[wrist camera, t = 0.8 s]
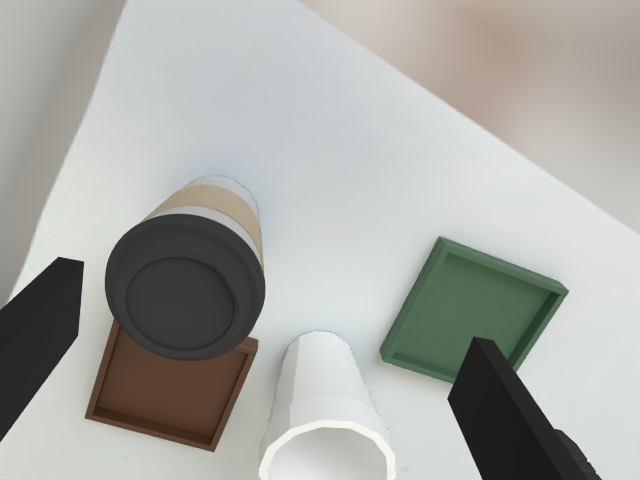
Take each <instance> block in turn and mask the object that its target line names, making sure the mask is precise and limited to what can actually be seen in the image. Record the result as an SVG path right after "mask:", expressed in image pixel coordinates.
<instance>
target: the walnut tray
mask: <svg viewBox="0 0 640 480" xmlns="http://www.w3.org/2000/svg"><path fill="white" fill-rule="evenodd" d="M257 348H258V340H256V339H252V338H249V337H246V339H245V340H244V341H243V342H242V343H241V344H240V345H238V346H237V347H236V348H234V349H233V350H231V351H230V352H228V353H226V354H224V355H222V356H219V357H216V358H213V359H209V360H204V361H179V360H173V359H169V358H165V357H162V356H159V355H157V354H155V353H152V352H150V351H148V350H147V349H145V348H143V347H142V346H140V345H139V344H137V343H136V342H135V341H134V340H132V339H131V338H130V337H129V336H128V335H127V334H126V333H125V332H124V331H123V329H122V328H121V327H120V326H119V324H118V323H117V321H116V320H115V318H114V321H113V325H112V328H111V331H110V335H109V338H108V341H107V345H106V348H105V351H104V355H103V358H102V361H101V365H100V368H99V371H98V375H97V378H96V381H95V385H94V388H93V391H92V395H91V398H90V401H89V405H88V408H87V411H86V415H85V418H86V419H90V420H93V421H97V422H101V423H105V424H109V425H112V426H116V427H120V428H124V429H128V430H131V431H135V432H139V433H143V434H147V435H150V436H154V437H158V438H162V439H166V440H169V441H173V442H177V443H181V444H185V445H188V446H192V447H196V448H200V449H204V450H207V451H211V452H214V451H215V449H216V447H217V444H218V442H219V440H220V437H221V435H222V433H223V430H224V428H225V426H226V423H227V421H228V419H229V416H230V414H231V411H232V409H233V407H234V404H235V402H236V400H237V397H238V395H239V393H240V390H241V388H242V386H243V383H244V381H245V379H246V376H247V374H248V372H249V369H250V367H251V365H252V362H253V360H254V358H255V355H256V353H257Z"/></svg>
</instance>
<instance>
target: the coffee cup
mask: <svg viewBox="0 0 640 480" xmlns="http://www.w3.org/2000/svg"><path fill="white" fill-rule="evenodd" d="M105 292H106V298H107V302H108V305H109V308H110V310H111V312H112V314H113V316H114V318H115V320H116V321H117V323H118V324H119V326H120V327H121V328H122V329H123V331H124V332H125V333H126V334H127V335H128V336H129V337H130V338H131V339H132V340H134V341H135V342H136V343H137V344H139V345H140V346H142V347H143V348H145V349H147V350H148V351H150V352H152V353H155V354H157V355H159V356H162V357H165V358H169V359H173V360H179V361H204V360H209V359H213V358H216V357H219V356H222V355H224V354H226V353H228V352H230V351H231V350H233V349H234V348H236V347H237V346H238V345H240V344H241V343H242V342H243V341H244V340H245V339H246V337H247V336H248V335H249V334H250V332H251V331H252V329H253V327H254V325H255V323H256V321H257V319H258V317H259V315H260V313H261V310H262V307H263V304H264V299H265V279H264V265H263V252H262V239H261V230H260V225H259V213H258V208H257V205H256V203H255V200H254V199H253V197H252V195H251V194H250V193H249V192H248V190H247V189H246V188H245V187H243V186H242V185H241V184H240V183H238V182H236V181H234V180H232V179H230V178H227V177H223V176H216V175H211V176H204V177H200V178H198V179H196V180H194V181H192V182H190V183H189V184H188V185H187V186H185V187H184V188H183V189H182V190H180V191H178V192H176V193H175V194H173V195H172V196H171V197H170V198H169V199H167V200H166V201H165V202H164V203H163V204H161V205H160V206H159V207H158V208H157V209H156V210H154V211H153V212H152V213H151V214H150V215H149V216H147V217H146V218H145V219H144V220H143V221H142V222H141V223H140V224H138V225H136V226H135V227H133V228H132V229H130V230H129V231H128V232H127V233H126V234H124V235H123V236H122V238H121V239H120V240H119V241H118V242H117V244H116V245H115V247H114V248H113V250H112V252H111V254H110V257H109V259H108V263H107V267H106V274H105Z"/></svg>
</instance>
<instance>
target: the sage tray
mask: <svg viewBox="0 0 640 480" xmlns="http://www.w3.org/2000/svg"><path fill="white" fill-rule="evenodd" d="M568 292H569V290H568V289H567V288H565V287H564V286H563V285H562V284H561V283H560V282H558V281H555V280H552V279H550V278H547V277H545V276H542V275H539V274H537V273H534V272H532V271H529V270H526V269H524V268H521V267H518V266H516V265H513V264H511V263H508V262H505V261H503V260H500V259H498V258H495V257H492V256H490V255H487V254H485V253H482V252H479V251H477V250H474V249H471V248H469V247H466V246H464V245H461V244H458V243H456V242H453V241H451V240H448V239H445V238H443V237H439V239H438V241H437V243H436V245H435V247H434V249H433V250H432V252H431V254H430V256H429V258H428V260H427V262H426V264H425V266H424V267H423V269H422V271H421V273H420V275H419V277H418V279H417V281H416V283H415V285H414V286H413V288H412V290H411V292H410V294H409V296H408V298H407V300H406V302H405V303H404V305H403V307H402V309H401V311H400V313H399V315H398V317H397V319H396V320H395V322H394V324H393V326H392V328H391V330H390V332H389V334H388V336H387V337H386V339H385V341H384V343H383V345H382V347H381V349H380V353H381V357H382V361H383V362H386V363H390V364H393V365H396V366H399V367H402V368H405V369H408V370H411V371H414V372H418V373H421V374H424V375H427V376H430V377H433V378H436V379H439V380H443V381H446V382H449V383H452V384H454V382H455V379H456V377H457V375H458V372H459V370H460V367H461V365H462V363H463V360H464V358H465V355H466V353H467V351H468V348H469V346H470V343H471V341H472V339H473V336H474V337H480V338H485V339H490V340H494V341H495V343H496V344H497V346H498V347H499V349H500V350H501V352H502V353H503V355H504V356H505V358H506V359H507V361H508V362H509V363H510V365H511V366H512V368H513V369H514V371H515V372H517V370H518V369H519V367H520V366H521V364H522V363H523V361H524V360H525V358H526V356H527V355H528V353H529V352H530V350H531V349H532V347H533V346H534V344H535V343H536V341H537V340H538V338H539V337H540V335H541V334H542V332H543V331H544V329H545V327H546V326H547V324H548V323H549V321H550V320H551V318H552V317H553V315H554V314H555V312H556V311H557V309H558V308H559V306H560V305H561V303H562V302H563V300H564V298H565V296H566V295H567V294H568Z"/></svg>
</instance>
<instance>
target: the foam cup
mask: <svg viewBox="0 0 640 480" xmlns="http://www.w3.org/2000/svg"><path fill="white" fill-rule="evenodd" d="M258 472H259V477H260V480H395V478H396V470H395V454H394V450H393V446H392V442H391V438H390V434H389V430H388V428H387V427H386V425H385V424H384V423H383V421H382V420H381V418H380V415H379V413H378V411H377V408H376V406H375V404H374V401H373V399H372V397H371V394H370V392H369V390H368V387H367V385H366V383H365V381H364V378H363V376H362V374H361V371H360V369H359V367H358V364H357V362H356V360H355V357H354V355H353V353H352V352H351V349H350V347H349V346H348V345H347V343H346V342H345V340H344V339H343V338H341V337H339V336H337V335H335V334H333V333H331V332H324V331H313V332H310V333H306V334H303V335H300V336H299V337H298V338H297V339H296V340H294V341H293V342H292V343H291V344H290V345H289V347H288V350H287V352H286V355H285V357H284V361H283V364H282V368H281V373H280V377H279V381H278V385H277V389H276V393H275V397H274V401H273V405H272V409H271V414H270V418H269V422H268V426H267V429H266V431H265V434H264V436H263V439H262V441H261V444H260V454H259V466H258Z"/></svg>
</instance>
